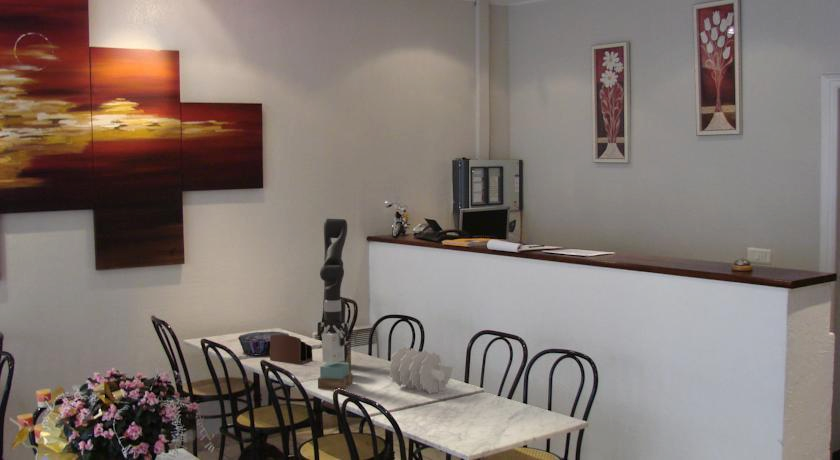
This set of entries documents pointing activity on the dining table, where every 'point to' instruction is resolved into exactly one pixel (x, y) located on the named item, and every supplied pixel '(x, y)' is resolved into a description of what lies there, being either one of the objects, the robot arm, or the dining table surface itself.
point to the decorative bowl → (257, 342)
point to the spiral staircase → (419, 370)
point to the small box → (332, 347)
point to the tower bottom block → (335, 382)
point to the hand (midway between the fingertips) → (333, 345)
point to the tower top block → (334, 370)
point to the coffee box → (347, 354)
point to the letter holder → (289, 349)
